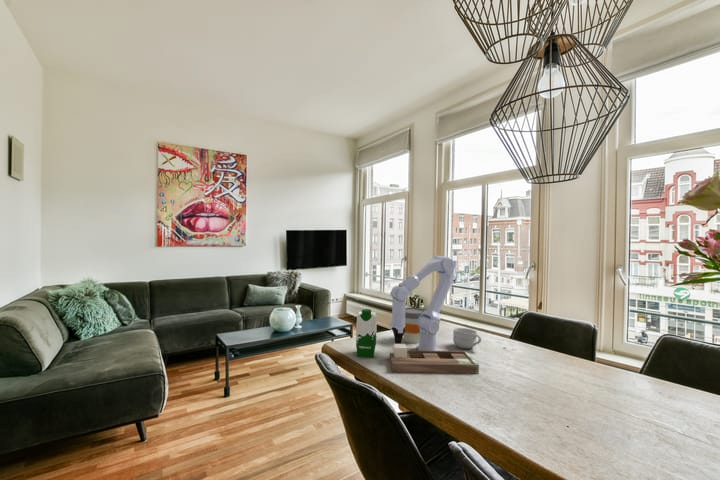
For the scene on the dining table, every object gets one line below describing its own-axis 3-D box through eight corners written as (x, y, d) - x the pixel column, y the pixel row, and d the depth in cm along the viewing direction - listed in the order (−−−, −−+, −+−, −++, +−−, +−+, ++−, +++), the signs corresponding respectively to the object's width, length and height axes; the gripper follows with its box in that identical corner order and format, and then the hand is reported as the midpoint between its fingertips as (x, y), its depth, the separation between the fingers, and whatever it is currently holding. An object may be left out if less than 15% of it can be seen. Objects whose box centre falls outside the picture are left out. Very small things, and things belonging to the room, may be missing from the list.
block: (393, 353, 141) (393, 343, 140) (405, 353, 141) (405, 343, 140) (394, 357, 136) (394, 347, 135) (406, 357, 136) (407, 348, 136)
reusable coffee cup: (411, 334, 175) (412, 306, 174) (430, 340, 165) (431, 311, 165) (394, 339, 167) (395, 309, 166) (413, 346, 157) (414, 314, 157)
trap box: (388, 357, 142) (388, 350, 142) (465, 358, 142) (466, 351, 142) (392, 372, 127) (392, 363, 127) (478, 373, 127) (478, 365, 127)
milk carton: (354, 357, 141) (355, 310, 141) (357, 349, 150) (357, 306, 150) (375, 358, 141) (376, 311, 140) (376, 350, 150) (377, 307, 149)
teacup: (448, 344, 160) (448, 328, 160) (465, 341, 165) (465, 325, 164) (468, 354, 147) (469, 336, 147) (486, 351, 152) (487, 333, 152)
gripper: (388, 309, 152) (387, 339, 152) (391, 317, 137) (390, 350, 138) (403, 310, 152) (402, 339, 152) (408, 318, 137) (407, 350, 138)
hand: (397, 344), depth 145 cm, fingers closed
